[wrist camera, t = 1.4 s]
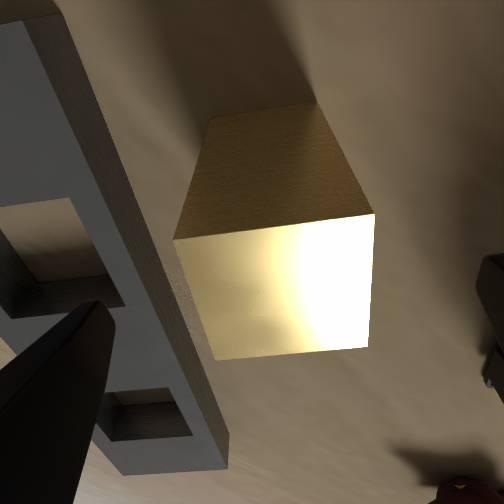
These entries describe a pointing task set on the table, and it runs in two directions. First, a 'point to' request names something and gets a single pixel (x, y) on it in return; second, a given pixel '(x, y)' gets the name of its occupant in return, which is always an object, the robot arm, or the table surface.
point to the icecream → (466, 493)
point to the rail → (110, 250)
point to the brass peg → (276, 236)
